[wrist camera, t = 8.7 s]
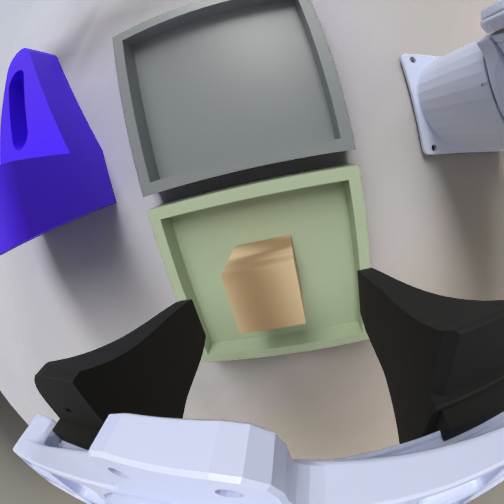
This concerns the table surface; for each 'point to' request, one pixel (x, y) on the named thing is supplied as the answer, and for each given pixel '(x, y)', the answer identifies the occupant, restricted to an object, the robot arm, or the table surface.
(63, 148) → the bracket
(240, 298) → the oak block
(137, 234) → the table surface
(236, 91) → the charcoal bin
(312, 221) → the olive bin
